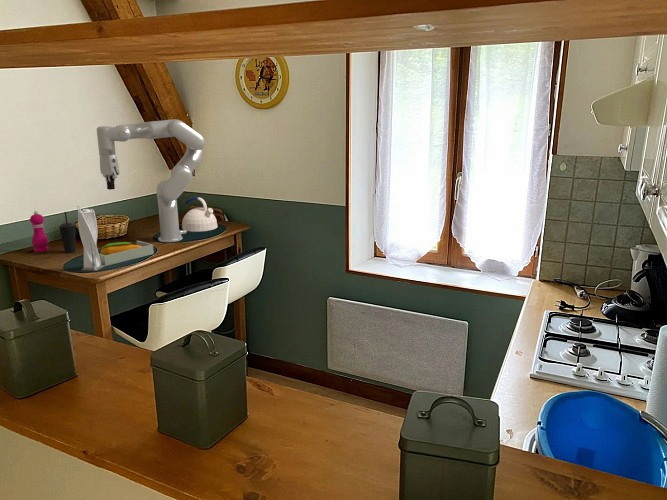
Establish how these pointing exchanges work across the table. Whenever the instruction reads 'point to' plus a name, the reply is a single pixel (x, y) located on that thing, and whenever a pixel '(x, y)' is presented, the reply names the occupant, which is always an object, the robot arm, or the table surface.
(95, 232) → the skyscraper
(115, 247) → the corn
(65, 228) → the drinking cup
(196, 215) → the kettle
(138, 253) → the bin
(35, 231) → the pepper mill
